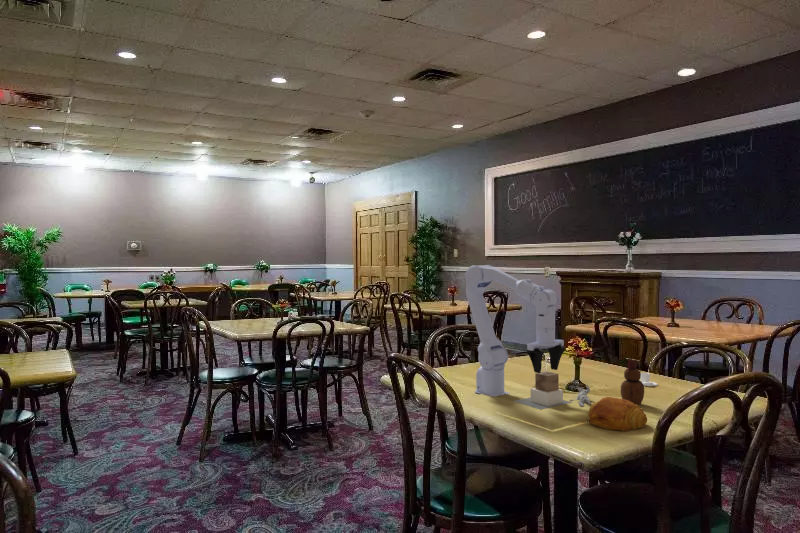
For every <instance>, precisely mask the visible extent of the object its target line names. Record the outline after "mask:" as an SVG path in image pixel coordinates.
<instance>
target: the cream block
mask: <svg viewBox="0 0 800 533" xmlns="http://www.w3.org/2000/svg"><path fill="white" fill-rule="evenodd" d="M530 397H531V402H535V403H538V404H542V405H546V406H550V405H554V404H559V403H563V400H564V390H563V389H561V388H559V390H555V391H550V392H545V391H541V390H537V389H535V387H533V388H530Z"/></svg>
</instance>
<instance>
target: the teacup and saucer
mask: <svg viewBox="0 0 800 533" xmlns="http://www.w3.org/2000/svg"><path fill="white" fill-rule="evenodd" d="M640 373H641V378H640V381H641V382H642V383H643V385H644V387H656V386H658V385H659V384H658V383H657V382H655V381H654V382H653V381H650V379H651V378H650V377H651V374H650V373H649V372H640Z"/></svg>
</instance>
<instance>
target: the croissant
mask: <svg viewBox="0 0 800 533" xmlns="http://www.w3.org/2000/svg"><path fill="white" fill-rule="evenodd" d="M589 407H590V408H589V410H588V414H587V415H588V418H589V419H588V422H589V423H590V424H591V425H593V426H595V427H598V428H601V429H605V430H610V431H611V430H612V431H622V432H627V431H628V432H630V431H631V430H637V429H640V428H643V427H644V426H646V424H647V423H648V417H647V415H646V413H645V412H644V411H643V409H642V408H641V406H639V405H637V404H634V403H632V402H631V401H628V400H625V399H622V398H618V397H611V396H607V397H606V396H605V397H602V398H601V399H600V400H599V401H597V402H594V403H591V404H590V406H589Z"/></svg>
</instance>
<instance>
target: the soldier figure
mask: <svg viewBox="0 0 800 533" xmlns="http://www.w3.org/2000/svg"><path fill="white" fill-rule="evenodd" d="M585 387H586V388H585V389H584V388H581V387H577V390H578V394H577V396H576V398H575V399H574V401H578V403H577V404H578V405H579V407H580V408H581V407H585V405H584V404H586V403H588V404H589V405H592V402H591V401H590V400H591V399H590V398H589V396H588V394H589V393H590V392H591V389H590V386H589V385H585ZM572 401H573V399H570V400H569V402H572Z"/></svg>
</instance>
